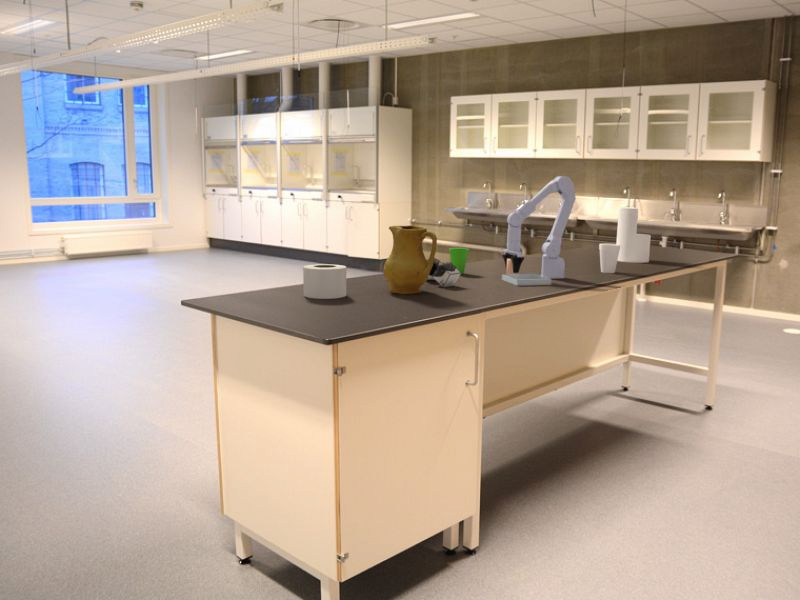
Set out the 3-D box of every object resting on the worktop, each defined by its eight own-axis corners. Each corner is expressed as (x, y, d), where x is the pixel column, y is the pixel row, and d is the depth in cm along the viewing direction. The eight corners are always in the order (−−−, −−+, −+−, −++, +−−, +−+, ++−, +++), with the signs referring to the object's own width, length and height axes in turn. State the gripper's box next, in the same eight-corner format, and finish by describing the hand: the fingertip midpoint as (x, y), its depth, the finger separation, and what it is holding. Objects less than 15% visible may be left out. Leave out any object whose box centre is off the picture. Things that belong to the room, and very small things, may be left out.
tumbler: (515, 276, 326) (515, 258, 324) (520, 277, 321) (521, 259, 319) (504, 276, 324) (505, 258, 323) (509, 278, 319) (509, 259, 318)
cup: (468, 272, 334) (469, 248, 332) (468, 275, 325) (468, 250, 323) (448, 271, 335) (449, 247, 333) (447, 274, 326) (448, 249, 324)
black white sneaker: (415, 279, 309) (415, 256, 308) (436, 279, 313) (437, 255, 311) (440, 289, 286) (441, 263, 284) (463, 288, 290) (464, 263, 288)
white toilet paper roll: (299, 293, 270) (298, 263, 268) (339, 291, 276) (339, 262, 274) (309, 300, 256) (309, 269, 254) (351, 298, 261) (351, 268, 260)
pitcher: (405, 285, 290) (407, 222, 285) (440, 293, 278) (443, 227, 272) (373, 290, 279) (375, 225, 273) (408, 300, 266) (410, 231, 260)
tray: (534, 279, 316) (534, 274, 316) (551, 284, 302) (551, 279, 301) (501, 280, 312) (502, 274, 312) (516, 285, 298) (517, 279, 297)
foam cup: (620, 272, 347) (622, 244, 344) (615, 274, 339) (617, 245, 337) (601, 270, 352) (602, 243, 349) (594, 272, 344) (596, 244, 342)
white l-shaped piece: (617, 261, 387) (621, 208, 382) (613, 258, 404) (616, 206, 399) (651, 263, 384) (655, 209, 379) (646, 259, 401) (650, 207, 396)
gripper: (498, 239, 325) (497, 269, 328) (512, 242, 312) (510, 274, 314) (513, 239, 327) (511, 269, 330) (527, 242, 314) (525, 273, 316)
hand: (512, 271), depth 322 cm, fingers open, 7 cm apart
